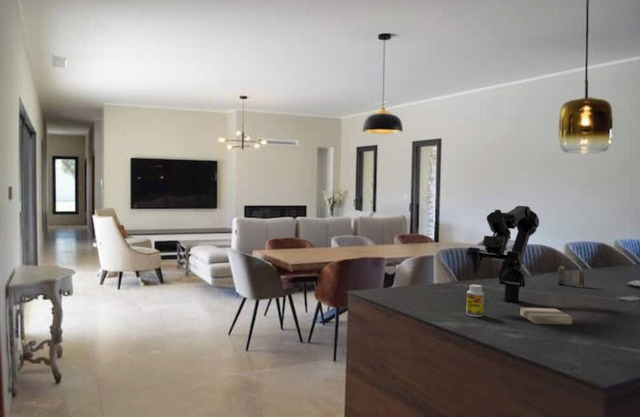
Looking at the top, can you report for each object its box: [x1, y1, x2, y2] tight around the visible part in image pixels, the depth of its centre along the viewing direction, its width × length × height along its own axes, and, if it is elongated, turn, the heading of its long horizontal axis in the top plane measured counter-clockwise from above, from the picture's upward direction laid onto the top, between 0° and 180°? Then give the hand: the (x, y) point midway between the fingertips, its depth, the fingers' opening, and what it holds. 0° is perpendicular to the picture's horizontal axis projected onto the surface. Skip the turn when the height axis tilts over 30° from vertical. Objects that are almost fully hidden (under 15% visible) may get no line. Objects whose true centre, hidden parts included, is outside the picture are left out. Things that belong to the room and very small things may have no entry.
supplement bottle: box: [465, 284, 485, 318], centre depth 178 cm, size 6×6×10 cm
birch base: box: [519, 307, 573, 325], centre depth 175 cm, size 12×12×2 cm
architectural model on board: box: [557, 265, 587, 289], centre depth 241 cm, size 11×3×10 cm, turn 64°
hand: (487, 275), depth 183 cm, fingers open, 9 cm apart
